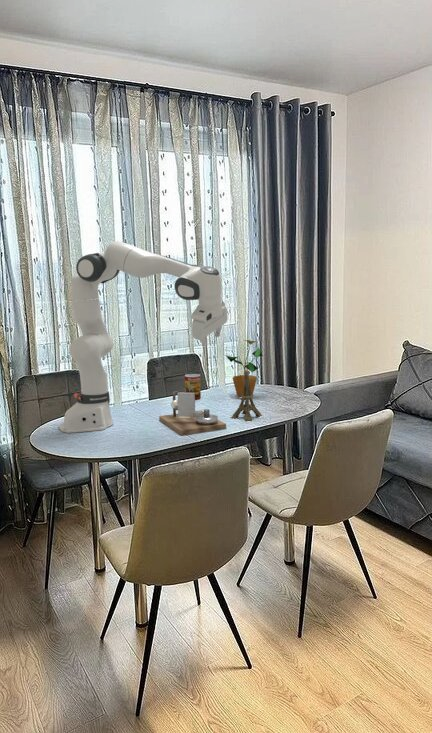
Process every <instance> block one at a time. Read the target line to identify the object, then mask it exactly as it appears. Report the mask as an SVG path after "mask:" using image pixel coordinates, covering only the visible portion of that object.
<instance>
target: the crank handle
mask: <svg viewBox="0 0 432 733" xmlns="http://www.w3.org/2000/svg"><path fill="white" fill-rule="evenodd" d="M176 394H177V399H176V400H173V399H172V401H171V402H170V405H171V408H172V409H173V408H174V409H176V408H178V410H177V414H178V417H196V423H198V424H202V425H210V424H215V423H217V422H218V420H219V418H218V417H219V416H218V415H216V414H211V413H210V412H211V411H210V409H208V408H207V409H203V412H204V414H203V415H201V412H196V411H197V410H196V400H195V393H186V392H178V393H176Z"/></svg>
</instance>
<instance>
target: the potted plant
mask: <svg viewBox="0 0 432 733" xmlns="http://www.w3.org/2000/svg"><path fill="white" fill-rule="evenodd" d="M244 342H247V344H249V347H248V350H247V354H246V357H245V361H244V363H243V362H242V360H241V359H240V357H239V356H230V355H225V357H226V358H227V359H228V360H229V361H230V363H232V362H234V363H236V364H238V365H241V366H242V368H243V369H244V370H243V371H246V367H247V371H249V372H250V373H254V372H256V371H257V370H258V369H259V367H257V365H255V364H254V363H252V362H253V361H254V360H255V358H258V357H263V356H264V355H263V353H262V351H261V348H258V349H256V350H254V351H253V352H252V353H251V354H252V355H253V358H252V360H251V361H249V362H248V361H247V359H248V355H249V352H250V349H251V348H250V347H251V345H252V344H254V343H257V341H255V340H247V339H244ZM238 359H239V360H238ZM231 379H232V381H233V385H234V389H235V393H236V396H237V398H239V397H241V395H243V388H244V379H245V374H244V373H243V374H240V375H234V376H232V378H231ZM257 379H258V377H257V376H256V375H250V374H249V381H250V389H251V395H254V391H255V387H256V383H257V381H258V380H257Z"/></svg>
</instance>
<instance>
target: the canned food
mask: <svg viewBox="0 0 432 733" xmlns="http://www.w3.org/2000/svg"><path fill="white" fill-rule="evenodd" d="M201 385H202V384H201V374H198V373H186V374H185V375H184V389H186V393H195V401H199V400H201V399H202V398H201V397H202V396H201V394H202V392H201V388H202V387H201Z"/></svg>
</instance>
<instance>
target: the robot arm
mask: <svg viewBox="0 0 432 733" xmlns="http://www.w3.org/2000/svg"><path fill="white" fill-rule="evenodd" d="M76 262H77V263H76V265H75V266H76V267H75V271H76V274H75V275H73V276H72V278H71V280H70V297H71V305H72V311H73V318H74V321H75V323H76V324H77V325H78V326H79V329H80V331H81V334H82V335H80V336H78V337H76V338H75V339H74V340H73V341H72V342H71V343H70V345H69V355H70V357H71V358H72V359H73V360H74V361H75V363H76V366H77V369H78V373H79V380H80V391H81V392H80V393H79V394H78V393H77V392H75V393H74V394H73V397H74V399H76V402H75V403H74V404H73V405H72V406H71V407H70V408H68V409H67V410H66V411H65V413H64V417H63V422H61V423H59V424H58V428H59V429H58V430H60V431H61V432H62V433H66V434H70V433H81V432H85V433H86V432H94V431H103V430H105V429H107V428H109V427H111V426H113V425H114V420H113V417H112V414H111V408H110V404H111V403H110V402H111V398H110V391H109V386H108V385H109V384H108V373H107V371H106V370H105V368H104V367H103V362H102V358H104V357H107V355H108V354H109V353H110V352H112V350H113V348H114V339H113V337H112V336H111V335H110V334H109V333H108V330H107V328H106V325H105V321H104V319H103V316H102V315H103V314H102V310H101V303H100V296H99V286H100V284H105V283H107V282H109V281H111V280H113V279H114V278H116V277H117V276H118V275H119V274H120V271H121V272H123V273H125V274H127V275H129V276H132V277H135V278H141V279H144V278H147V277H151V276H153V275H154V276H155V275H159V274H167V275H171V276H172V277H177V279H176V280H175V282H174V292H175V294H176V296H178V297H179V298H180V299H182V300H183V301H196V300H197V301H198V305H197V306H196V308H195V309H194V310H193V312H192V313H191V315H190V316H191V319H192V322H191V333H192V334H191V335H192V338H193V339H195V340H198V341H200V343H201V346H202V347H206V346H208V341H207V340H206V339H207V337H208V336H209V335H210V334H212V333H214V337H215V338H219V337H220V336H221V331H222V328H223V325H225V324H227V322H228V318H229V317H228V308H227V307H226V303H225V302H224V301H222V298H221V297H222V296H221V295H222V291H223V289H222V279H221V278H222V277H221V274H220V272H219V270H218V269H217V268H215V267H213V266H205V265H202V264H191V263H186V262H184V261H181V260H178V259H175V258H173V257H168V256H166V255H161V254H157V253H154V252H150V251H147V250H145V249H142V248H141V247H137V246H135V245H132V244H129V243H127V242H124V241H123V242H122V241H118V240H113V241H112V242H110V243H109V244H107V247H106V248H105V251H104V252H102V253H100V252H96V253H89V254H85V255H83V256H82V257H80V258H79V259H78V260H77V261H76Z"/></svg>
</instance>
